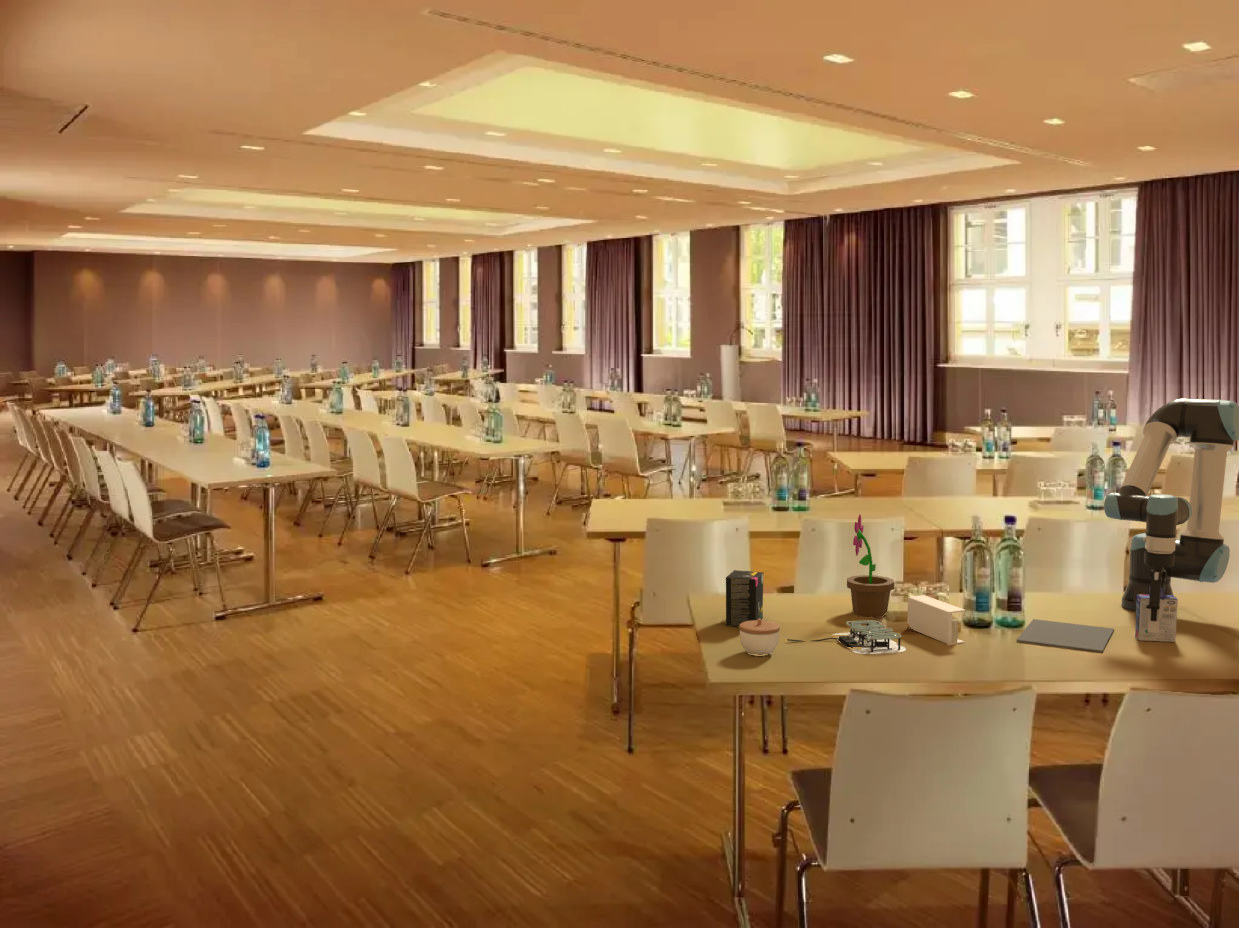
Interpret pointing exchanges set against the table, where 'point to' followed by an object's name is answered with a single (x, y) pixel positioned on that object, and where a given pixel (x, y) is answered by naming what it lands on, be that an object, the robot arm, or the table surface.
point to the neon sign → (869, 638)
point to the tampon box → (744, 597)
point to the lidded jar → (759, 636)
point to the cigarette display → (933, 618)
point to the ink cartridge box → (1165, 622)
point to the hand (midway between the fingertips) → (1155, 626)
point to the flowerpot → (868, 584)
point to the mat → (1066, 635)
